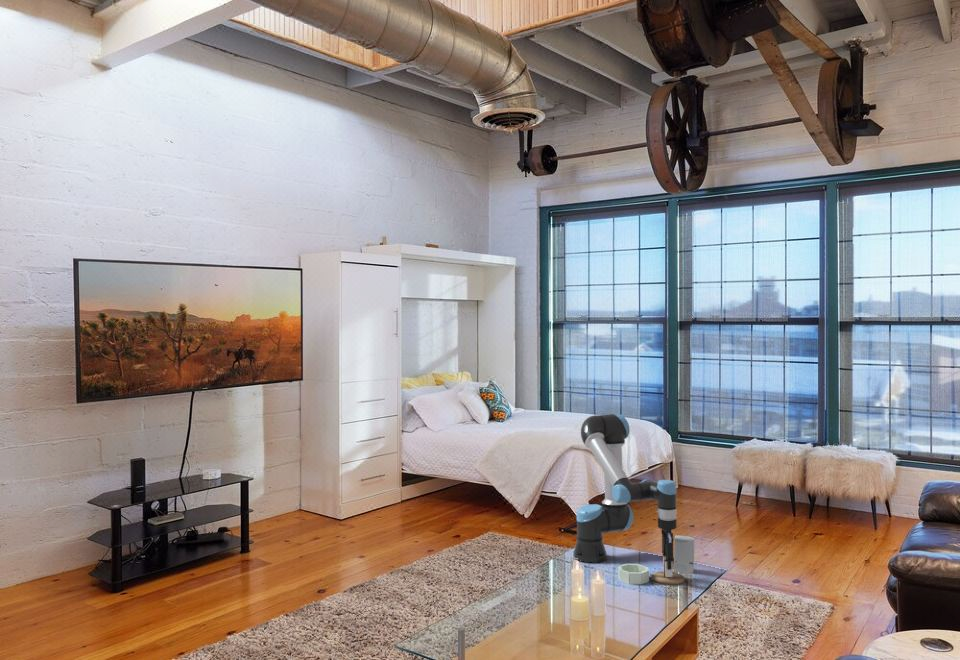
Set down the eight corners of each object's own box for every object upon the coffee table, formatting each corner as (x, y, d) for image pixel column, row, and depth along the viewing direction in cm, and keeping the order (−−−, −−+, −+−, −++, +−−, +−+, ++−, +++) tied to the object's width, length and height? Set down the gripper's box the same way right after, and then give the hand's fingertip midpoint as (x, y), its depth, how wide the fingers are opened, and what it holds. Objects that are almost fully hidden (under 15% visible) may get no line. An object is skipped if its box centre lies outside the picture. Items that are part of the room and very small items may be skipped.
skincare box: (673, 572, 307) (673, 538, 307) (674, 568, 312) (674, 534, 312) (694, 575, 304) (693, 539, 304) (694, 570, 310) (694, 536, 310)
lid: (649, 574, 304) (649, 552, 304) (680, 574, 303) (680, 552, 303) (654, 584, 291) (654, 562, 291) (687, 585, 290) (686, 562, 290)
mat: (649, 575, 304) (649, 574, 304) (680, 575, 303) (680, 574, 303) (654, 586, 291) (654, 584, 291) (687, 586, 290) (687, 585, 290)
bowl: (617, 575, 305) (617, 563, 305) (646, 575, 304) (646, 563, 304) (620, 585, 293) (620, 573, 293) (650, 585, 292) (650, 573, 292)
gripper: (654, 512, 306) (655, 567, 306) (661, 523, 288) (662, 581, 288) (672, 512, 305) (673, 567, 305) (680, 524, 288) (681, 582, 288)
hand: (667, 574), depth 297 cm, fingers open, 4 cm apart
